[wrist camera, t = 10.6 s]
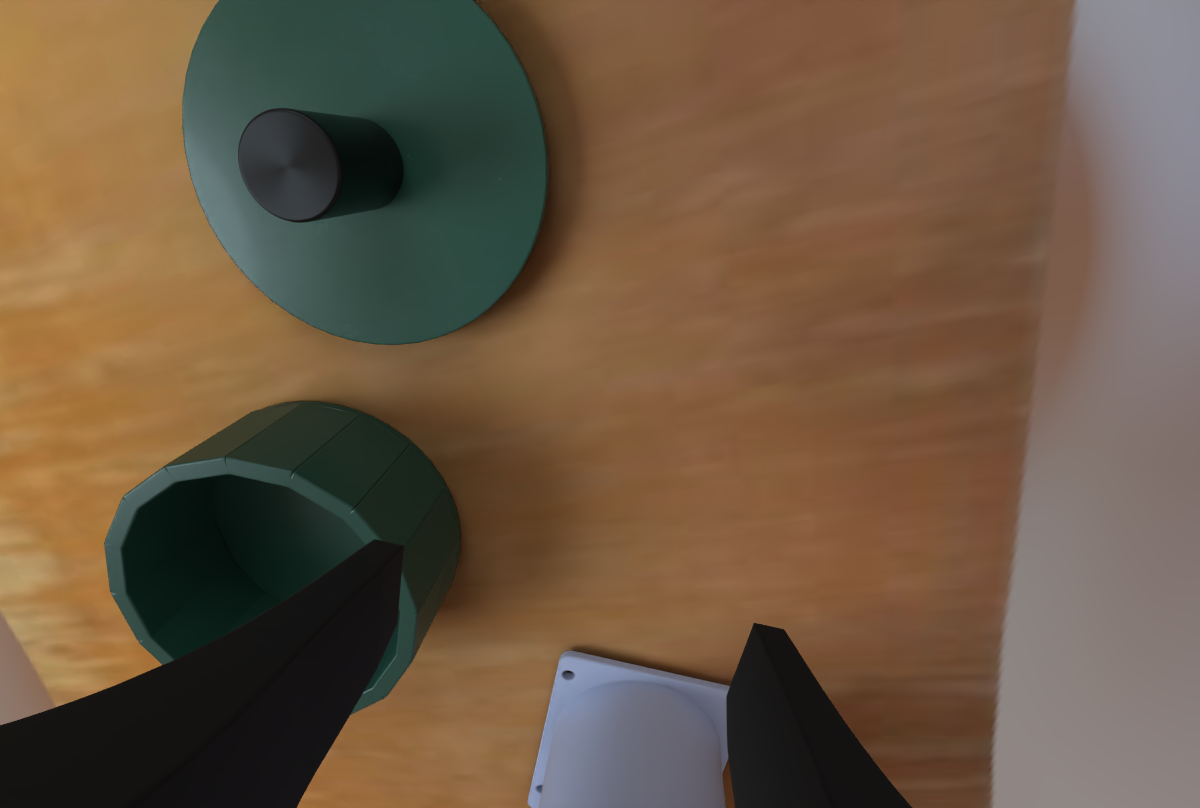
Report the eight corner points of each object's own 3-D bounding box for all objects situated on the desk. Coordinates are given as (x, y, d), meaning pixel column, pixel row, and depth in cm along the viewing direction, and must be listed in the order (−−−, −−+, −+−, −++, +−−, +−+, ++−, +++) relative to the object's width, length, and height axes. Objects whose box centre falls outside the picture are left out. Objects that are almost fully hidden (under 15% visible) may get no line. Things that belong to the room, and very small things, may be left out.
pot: (446, 649, 27) (403, 749, 22) (212, 596, 27) (121, 685, 22) (475, 434, 23) (429, 502, 18) (201, 373, 23) (88, 426, 19)
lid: (524, 367, 22) (485, 425, 17) (213, 299, 22) (89, 337, 17) (583, -3, 18) (553, -61, 13) (197, -84, 18) (29, -172, 13)
